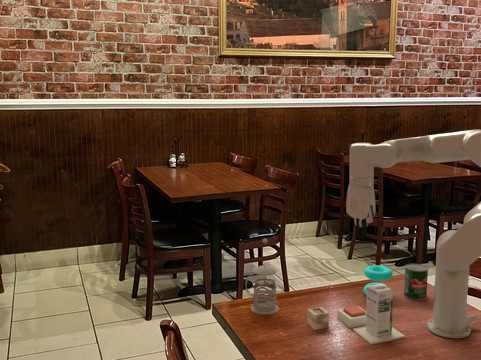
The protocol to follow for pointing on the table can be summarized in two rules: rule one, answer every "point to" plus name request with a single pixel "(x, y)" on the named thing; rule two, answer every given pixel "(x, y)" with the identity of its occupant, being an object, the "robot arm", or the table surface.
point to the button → (354, 311)
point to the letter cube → (318, 318)
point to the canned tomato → (415, 281)
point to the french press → (262, 303)
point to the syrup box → (379, 309)
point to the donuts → (377, 274)
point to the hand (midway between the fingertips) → (361, 237)
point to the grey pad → (383, 338)
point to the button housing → (351, 319)
